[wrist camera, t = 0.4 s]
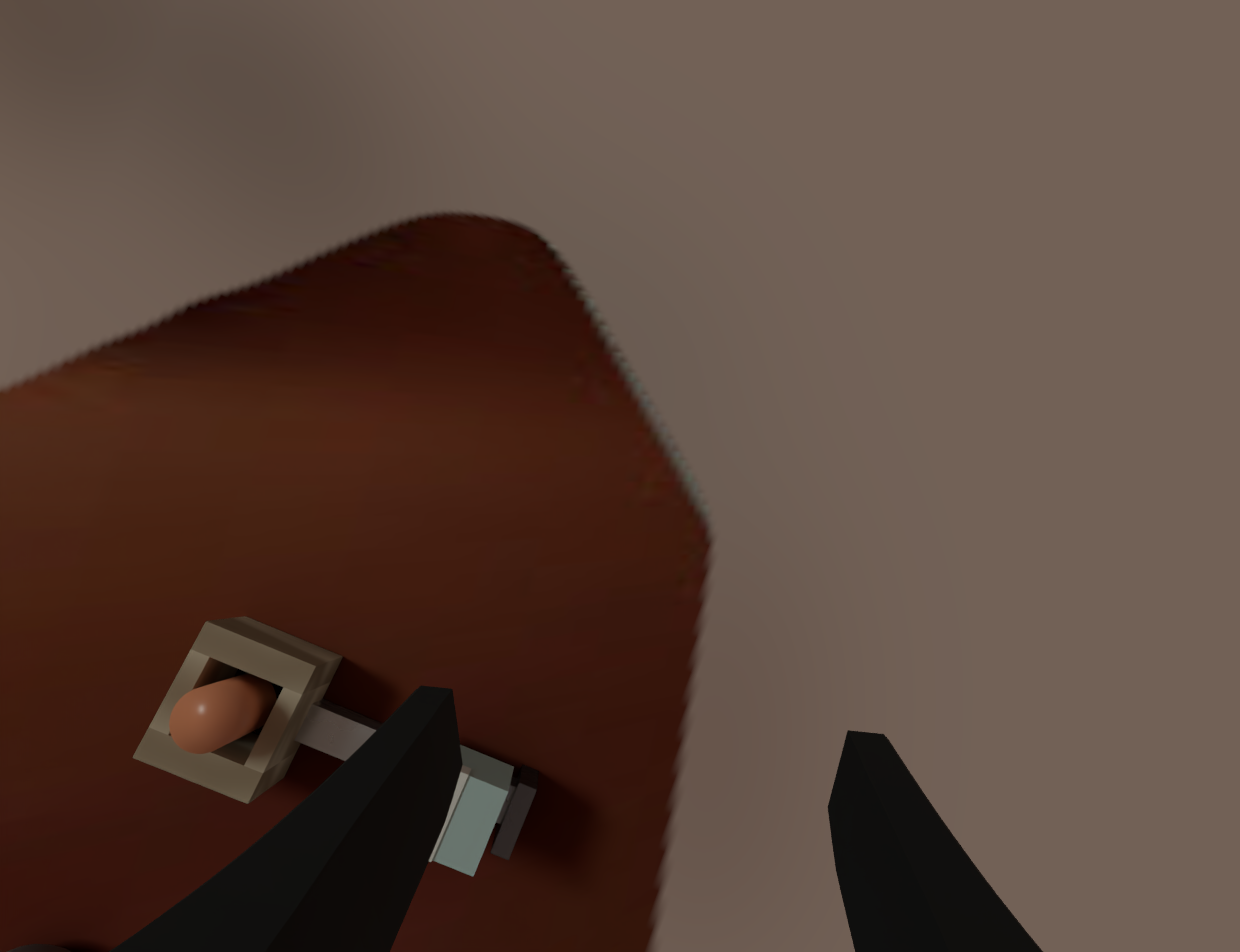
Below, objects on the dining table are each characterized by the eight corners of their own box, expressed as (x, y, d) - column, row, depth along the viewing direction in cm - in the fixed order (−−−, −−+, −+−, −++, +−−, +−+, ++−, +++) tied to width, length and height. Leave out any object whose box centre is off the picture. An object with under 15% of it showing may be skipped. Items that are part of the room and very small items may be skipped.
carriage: (482, 841, 33) (472, 878, 29) (396, 806, 32) (373, 839, 28) (514, 765, 33) (508, 791, 29) (430, 731, 33) (412, 752, 29)
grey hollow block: (283, 777, 34) (247, 803, 30) (182, 736, 33) (132, 757, 30) (343, 656, 35) (316, 666, 31) (245, 616, 35) (206, 621, 31)
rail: (512, 834, 34) (508, 860, 31) (298, 747, 34) (272, 764, 31) (538, 770, 35) (536, 790, 32) (329, 685, 35) (306, 695, 32)
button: (259, 741, 32) (217, 763, 28) (205, 719, 32) (156, 739, 28) (286, 686, 33) (249, 700, 29) (234, 664, 32) (190, 676, 29)
